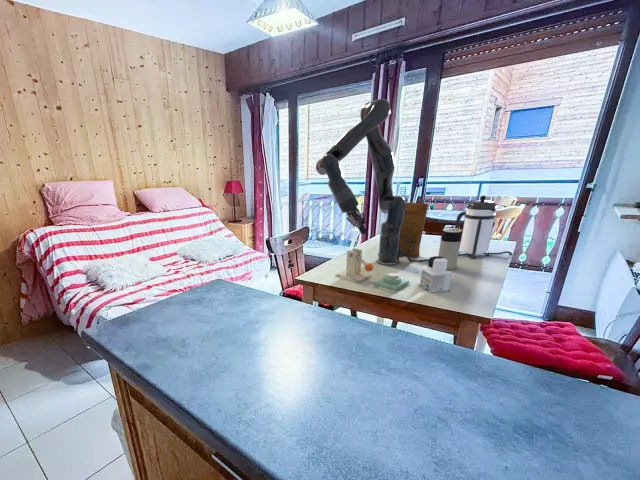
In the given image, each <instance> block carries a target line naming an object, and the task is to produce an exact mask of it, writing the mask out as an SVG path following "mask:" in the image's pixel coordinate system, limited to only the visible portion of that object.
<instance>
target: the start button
mask: <svg viewBox="0 0 640 480" xmlns="http://www.w3.org/2000/svg"><path fill="white" fill-rule="evenodd" d="M387 275H388V276H387V278H388V279H398V276H399V274H398V273H396V272H388V273H387Z"/></svg>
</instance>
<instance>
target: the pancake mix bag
mask: <svg viewBox="0 0 640 480" xmlns="http://www.w3.org/2000/svg"><path fill="white" fill-rule="evenodd" d="M428 208H429V204H428V203H424V202H406V209H405V215H404V221H403V224H402V226H401V232H400V242H399V244H401V249H400V250H402V251H403V253H405V254H407V255H408V256H409V258H418V257H420V256H421V255H420V249H421V242H422V238H423V232H424V229H425V225H426V218H427V214H428ZM404 256H405V255H403V257H404ZM405 257H406V256H405Z"/></svg>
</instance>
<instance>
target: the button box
mask: <svg viewBox="0 0 640 480" xmlns="http://www.w3.org/2000/svg"><path fill="white" fill-rule="evenodd" d="M387 276H388V274H384V276H383V278H381V279H379V280H377V281H375V282H374V286H378V287H381V288H385V289H388V290H391V291H397V290H399V289H400V288H402V287H404V286H406V285H408V284H409V283H410V280H409V279H405V278H402V276H400V275H398V279H388V278H387Z"/></svg>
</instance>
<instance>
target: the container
mask: <svg viewBox="0 0 640 480" xmlns="http://www.w3.org/2000/svg"><path fill="white" fill-rule="evenodd" d="M428 259H429V261H427V262H428V263H427V267H422V268H421V274H420V275H421V276H420V283H419V284H420V285H422V286H424V287H425V290H426V291H428V292H429V293H434V292H435V293H436V292H448V291H449V290H450V283H451V277H452V272H451V271H449V270H448V269H446V267H447V261H448V260H447V259H446V258H444V257H440V256H438V255H435V256H430V257H429V258H428Z"/></svg>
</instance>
